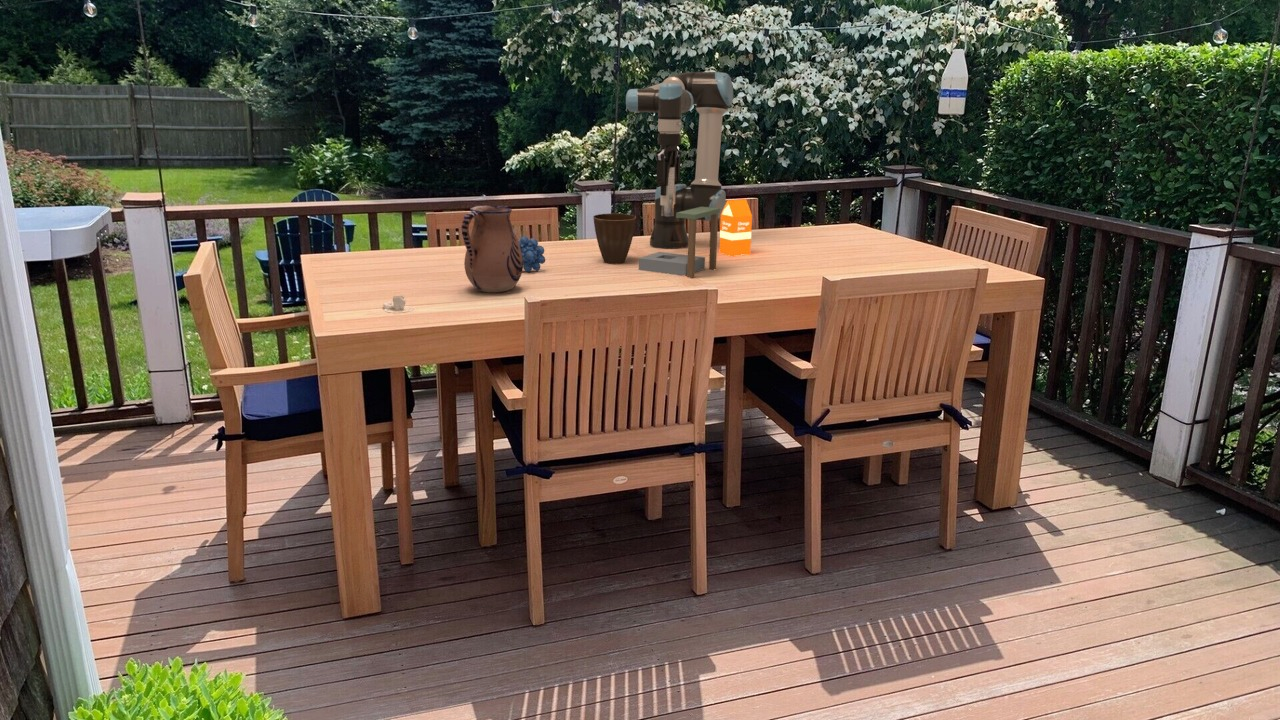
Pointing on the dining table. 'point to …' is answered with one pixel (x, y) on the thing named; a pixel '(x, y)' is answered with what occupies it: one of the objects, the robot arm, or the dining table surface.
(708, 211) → the awning
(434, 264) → the dining table surface
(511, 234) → the ceramic pitcher
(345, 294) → the dining table surface
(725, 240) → the orange juice
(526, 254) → the grapes
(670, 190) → the steel peg
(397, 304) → the teacup and saucer
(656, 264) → the socket block
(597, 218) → the plant pot
